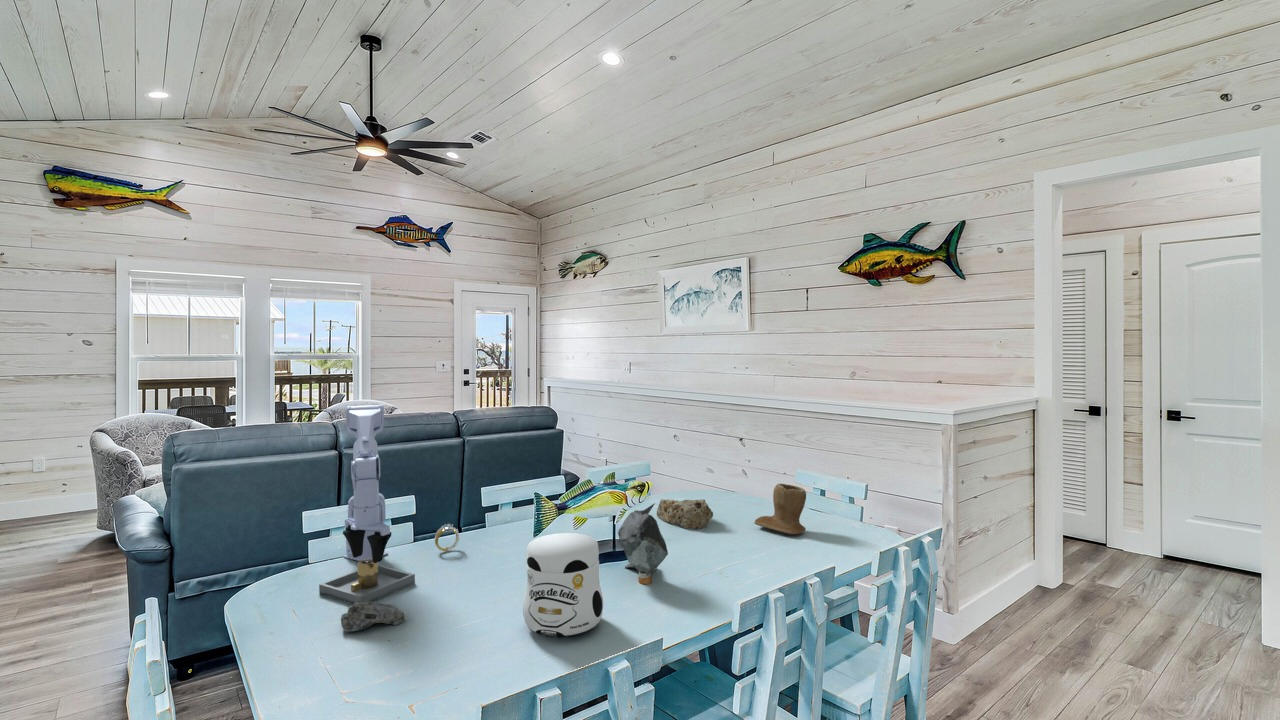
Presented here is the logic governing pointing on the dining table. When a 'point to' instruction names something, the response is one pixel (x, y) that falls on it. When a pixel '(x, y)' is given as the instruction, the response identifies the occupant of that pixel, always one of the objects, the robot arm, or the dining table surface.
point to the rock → (685, 513)
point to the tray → (387, 585)
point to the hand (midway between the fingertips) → (367, 559)
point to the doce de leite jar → (562, 585)
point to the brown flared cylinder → (785, 510)
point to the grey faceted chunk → (642, 543)
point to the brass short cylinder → (366, 575)
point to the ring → (443, 532)
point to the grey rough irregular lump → (370, 615)
